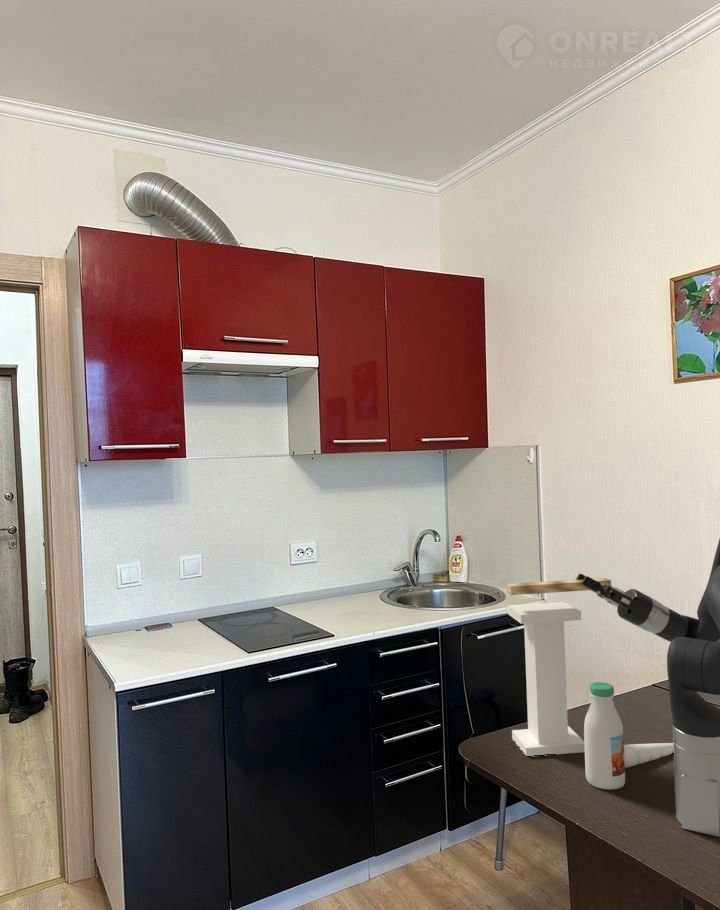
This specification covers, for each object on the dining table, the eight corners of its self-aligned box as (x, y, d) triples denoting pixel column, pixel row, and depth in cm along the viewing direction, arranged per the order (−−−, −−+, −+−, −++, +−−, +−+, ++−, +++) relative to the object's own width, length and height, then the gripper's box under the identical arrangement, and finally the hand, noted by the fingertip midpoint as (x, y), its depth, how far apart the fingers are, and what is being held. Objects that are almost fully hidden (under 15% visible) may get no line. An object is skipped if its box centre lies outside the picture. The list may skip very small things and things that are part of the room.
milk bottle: (600, 793, 137) (596, 693, 137) (578, 776, 144) (574, 681, 144) (633, 787, 139) (629, 688, 139) (610, 770, 146) (606, 677, 146)
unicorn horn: (707, 753, 153) (706, 731, 153) (620, 774, 145) (619, 751, 145) (690, 745, 158) (689, 724, 158) (605, 765, 150) (604, 742, 150)
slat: (605, 586, 163) (605, 578, 163) (611, 588, 160) (610, 580, 160) (507, 592, 161) (506, 584, 161) (511, 595, 158) (510, 586, 158)
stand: (568, 734, 166) (563, 601, 165) (586, 752, 156) (580, 611, 156) (512, 738, 164) (507, 605, 164) (526, 756, 154) (520, 615, 154)
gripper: (635, 591, 169) (575, 559, 168) (666, 603, 155) (601, 569, 154) (622, 618, 169) (562, 587, 168) (651, 633, 155) (586, 599, 154)
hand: (581, 578), depth 161 cm, fingers closed on slat, 3 cm apart
